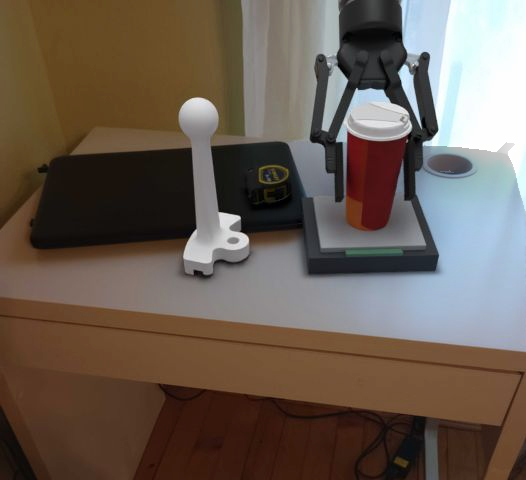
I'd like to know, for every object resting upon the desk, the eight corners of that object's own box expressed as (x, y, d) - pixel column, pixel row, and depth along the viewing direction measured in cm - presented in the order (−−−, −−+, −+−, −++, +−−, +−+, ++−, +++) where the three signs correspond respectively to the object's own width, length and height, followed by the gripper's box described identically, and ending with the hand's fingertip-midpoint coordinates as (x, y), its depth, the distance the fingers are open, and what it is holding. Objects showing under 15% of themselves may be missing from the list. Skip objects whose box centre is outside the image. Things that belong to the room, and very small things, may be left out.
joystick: (211, 224, 87) (198, 77, 73) (262, 234, 85) (260, 85, 71) (177, 271, 80) (155, 118, 66) (232, 283, 78) (222, 128, 64)
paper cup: (404, 210, 83) (421, 106, 73) (387, 241, 78) (402, 134, 68) (348, 197, 85) (357, 95, 76) (327, 227, 81) (334, 122, 71)
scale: (414, 209, 89) (417, 189, 87) (435, 270, 79) (440, 249, 77) (300, 212, 89) (301, 192, 87) (308, 273, 79) (309, 252, 77)
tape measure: (243, 186, 94) (242, 163, 91) (288, 182, 95) (288, 159, 92) (248, 211, 89) (247, 187, 87) (296, 206, 90) (297, 183, 87)
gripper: (285, -7, 72) (290, 192, 72) (465, -11, 72) (470, 189, 72) (283, 27, 80) (287, 208, 79) (446, 24, 80) (450, 204, 80)
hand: (374, 198), depth 76 cm, fingers closed on paper cup, 8 cm apart
